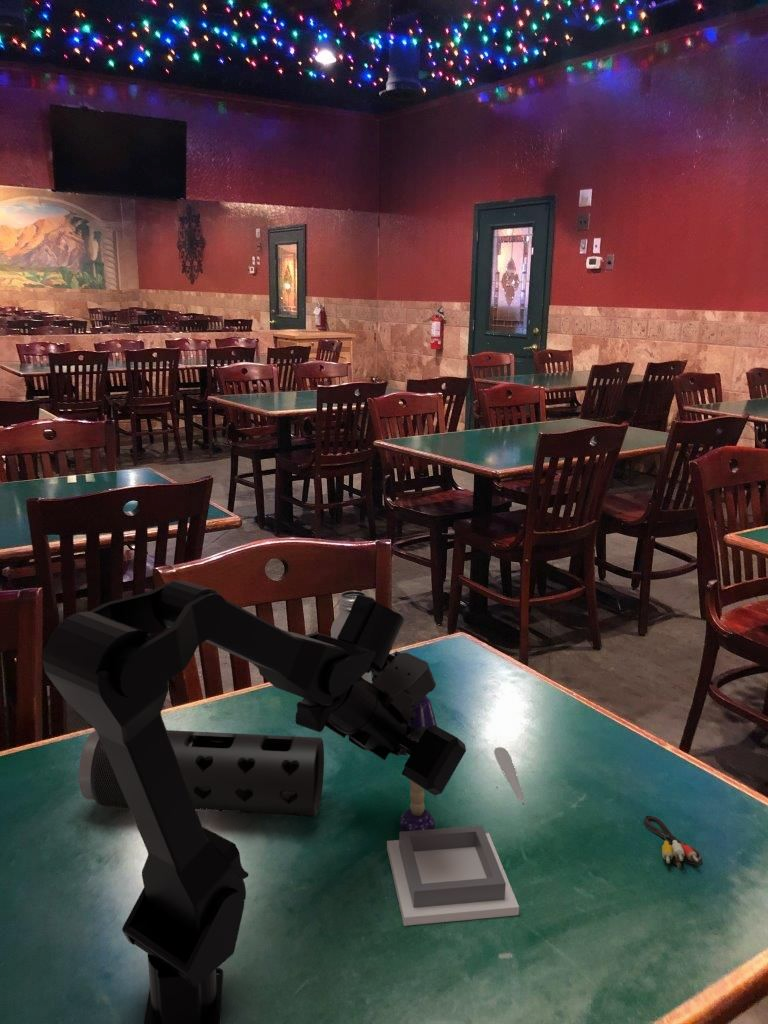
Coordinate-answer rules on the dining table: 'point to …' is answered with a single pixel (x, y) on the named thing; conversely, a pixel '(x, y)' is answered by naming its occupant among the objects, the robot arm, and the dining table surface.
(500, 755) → the butter knife
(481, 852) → the socket plate
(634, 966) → the dining table surface
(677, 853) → the composite cable
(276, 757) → the muzzle brake
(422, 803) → the toy lamp
